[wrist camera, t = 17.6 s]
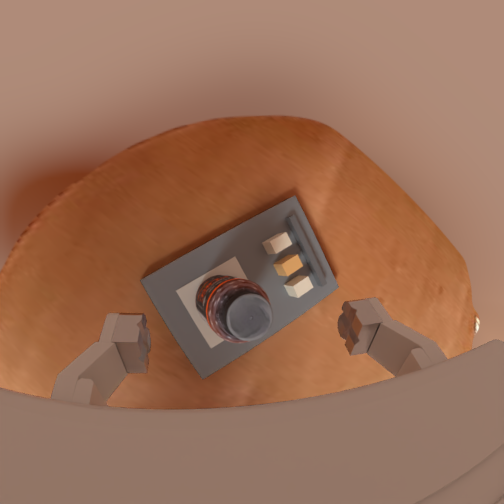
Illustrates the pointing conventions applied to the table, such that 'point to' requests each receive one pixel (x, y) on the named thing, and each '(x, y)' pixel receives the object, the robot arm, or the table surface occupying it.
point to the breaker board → (246, 267)
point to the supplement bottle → (234, 308)
